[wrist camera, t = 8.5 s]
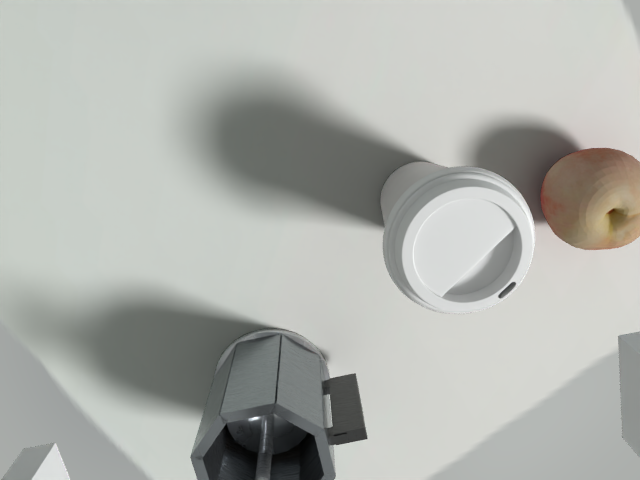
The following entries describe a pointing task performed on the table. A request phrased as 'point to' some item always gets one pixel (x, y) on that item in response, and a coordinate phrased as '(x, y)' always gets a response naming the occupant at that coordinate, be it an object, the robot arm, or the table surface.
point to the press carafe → (277, 408)
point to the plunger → (266, 438)
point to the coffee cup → (455, 236)
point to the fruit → (593, 198)
